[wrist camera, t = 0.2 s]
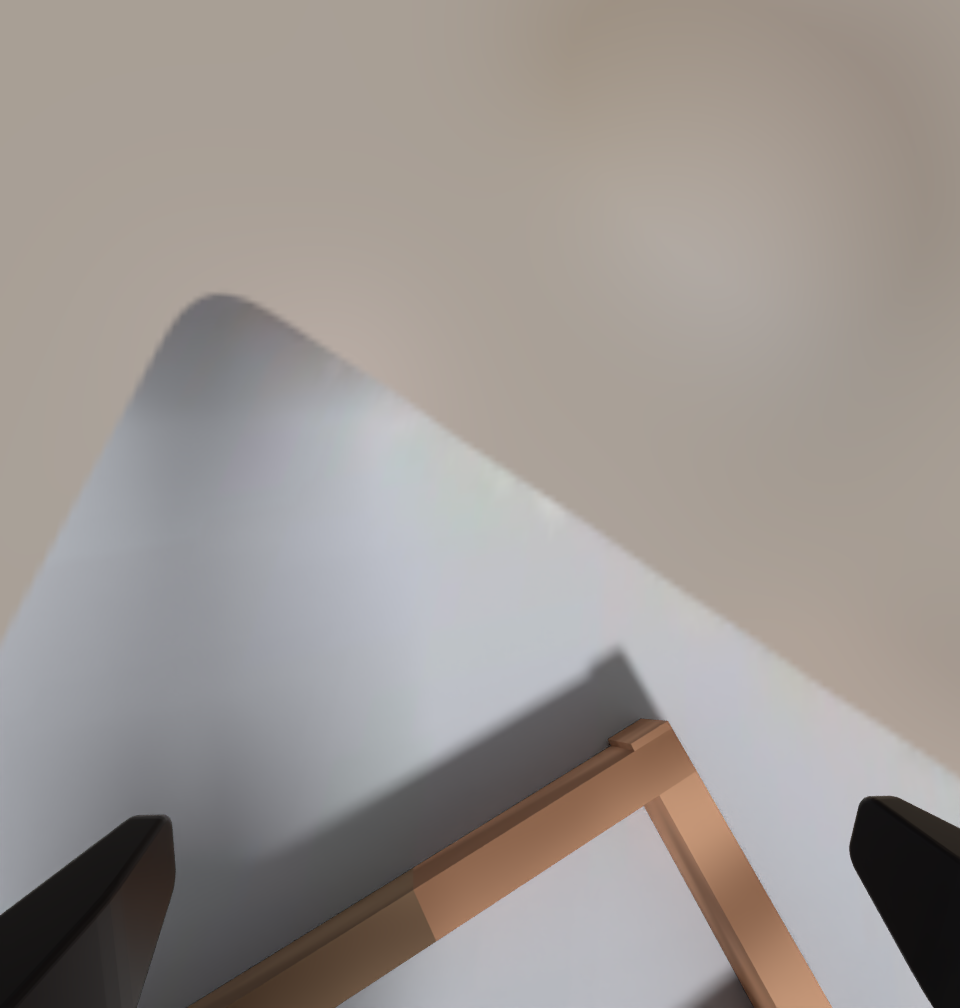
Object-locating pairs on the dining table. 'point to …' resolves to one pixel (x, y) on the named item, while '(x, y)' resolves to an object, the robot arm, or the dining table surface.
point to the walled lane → (526, 853)
